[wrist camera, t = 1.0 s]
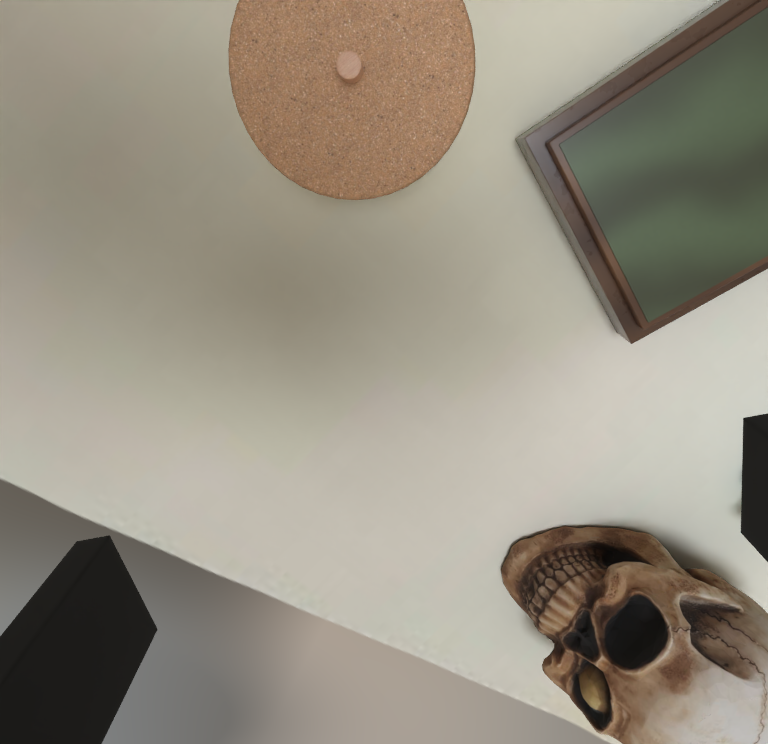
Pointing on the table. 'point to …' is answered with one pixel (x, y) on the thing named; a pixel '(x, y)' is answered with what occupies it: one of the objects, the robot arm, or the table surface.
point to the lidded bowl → (352, 88)
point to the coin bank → (644, 637)
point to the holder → (666, 169)
